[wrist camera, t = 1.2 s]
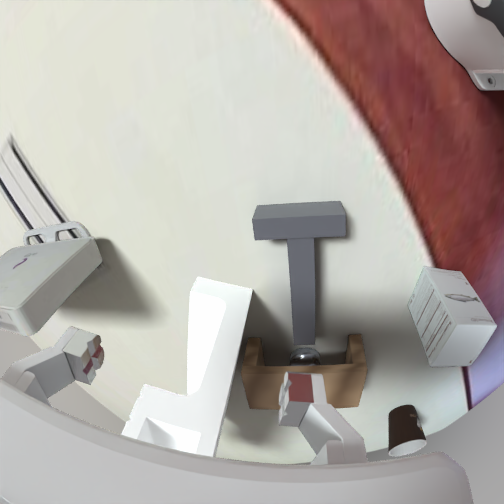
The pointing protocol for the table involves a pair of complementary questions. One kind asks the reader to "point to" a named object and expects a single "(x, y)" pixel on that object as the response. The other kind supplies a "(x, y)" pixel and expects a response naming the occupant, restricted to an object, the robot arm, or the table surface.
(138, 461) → the robot arm
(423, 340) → the supplement box
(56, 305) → the network device
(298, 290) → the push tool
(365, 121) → the table surface
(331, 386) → the bench
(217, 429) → the white piece
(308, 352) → the disc
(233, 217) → the table surface
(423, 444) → the coffee mug
